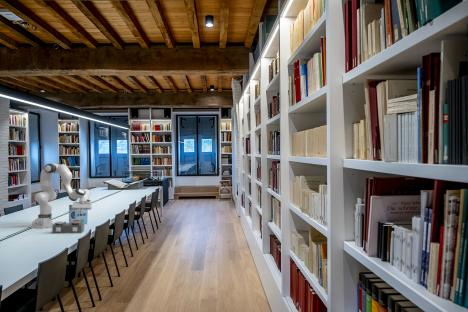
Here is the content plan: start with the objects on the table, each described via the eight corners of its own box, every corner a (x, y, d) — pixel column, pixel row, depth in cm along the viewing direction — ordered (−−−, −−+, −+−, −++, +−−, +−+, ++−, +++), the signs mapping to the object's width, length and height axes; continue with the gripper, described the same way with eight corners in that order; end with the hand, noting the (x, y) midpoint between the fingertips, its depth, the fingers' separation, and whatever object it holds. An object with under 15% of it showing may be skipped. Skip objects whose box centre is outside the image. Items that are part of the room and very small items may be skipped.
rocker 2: (74, 223, 357) (74, 221, 357) (80, 223, 357) (80, 221, 358) (72, 223, 350) (72, 221, 350) (78, 222, 351) (78, 221, 351)
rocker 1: (58, 223, 354) (58, 221, 355) (64, 223, 355) (64, 221, 356) (56, 223, 348) (56, 221, 348) (62, 223, 348) (62, 221, 349)
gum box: (86, 222, 401) (87, 203, 401) (87, 223, 397) (87, 204, 397) (68, 224, 391) (69, 204, 391) (69, 225, 386) (69, 205, 386)
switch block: (52, 233, 345) (52, 223, 345) (55, 231, 356) (56, 221, 356) (80, 233, 349) (81, 223, 349) (84, 230, 360) (84, 221, 360)
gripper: (72, 200, 372) (69, 210, 363) (92, 200, 375) (89, 210, 365) (74, 203, 377) (70, 213, 367) (93, 203, 379) (90, 214, 370)
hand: (80, 212), depth 366 cm, fingers closed
